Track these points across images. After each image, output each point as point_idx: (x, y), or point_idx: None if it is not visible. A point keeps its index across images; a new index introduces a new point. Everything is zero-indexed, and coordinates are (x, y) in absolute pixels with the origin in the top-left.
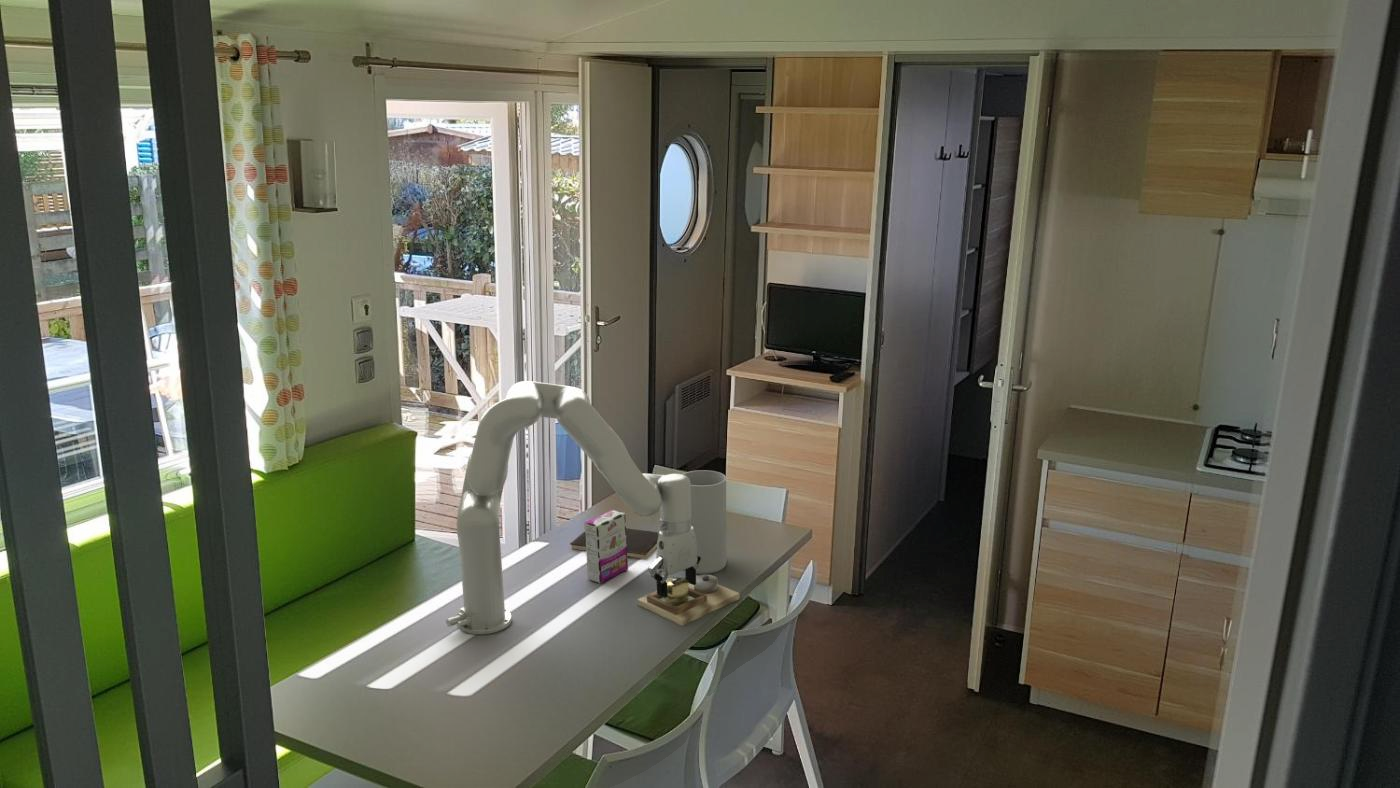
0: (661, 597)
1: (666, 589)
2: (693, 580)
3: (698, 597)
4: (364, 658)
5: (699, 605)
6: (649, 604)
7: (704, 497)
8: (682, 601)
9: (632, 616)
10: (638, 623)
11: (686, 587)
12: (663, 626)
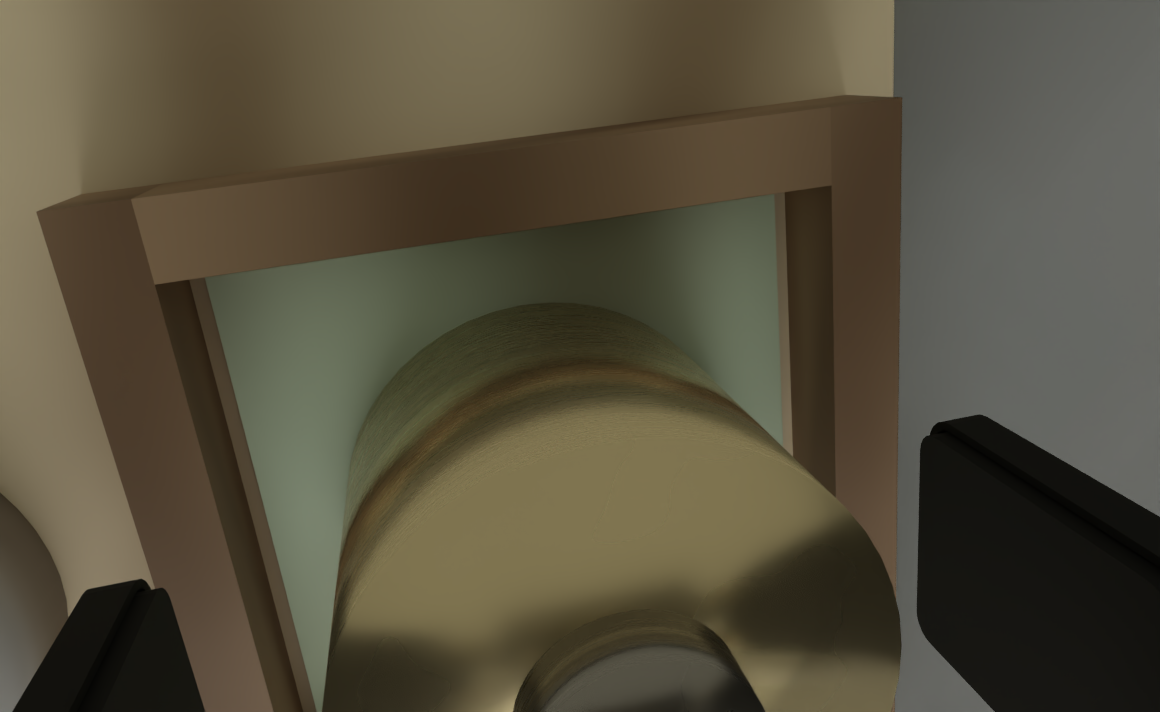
0: None
1: (1078, 485)
2: (134, 657)
3: (255, 251)
4: None
5: (313, 138)
6: None
7: None
8: (584, 324)
9: None
10: (1147, 346)
11: (512, 436)
12: (1018, 76)
